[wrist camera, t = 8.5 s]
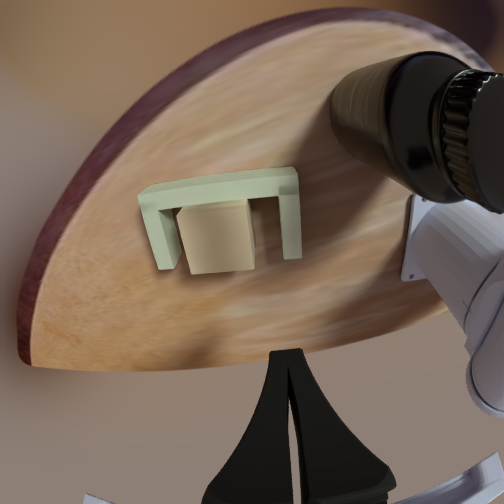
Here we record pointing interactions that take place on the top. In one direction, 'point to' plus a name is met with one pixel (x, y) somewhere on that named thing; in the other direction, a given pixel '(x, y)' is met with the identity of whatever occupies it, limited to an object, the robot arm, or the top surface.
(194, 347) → the top surface
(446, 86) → the supplement bottle
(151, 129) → the top surface
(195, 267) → the birch block
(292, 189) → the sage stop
